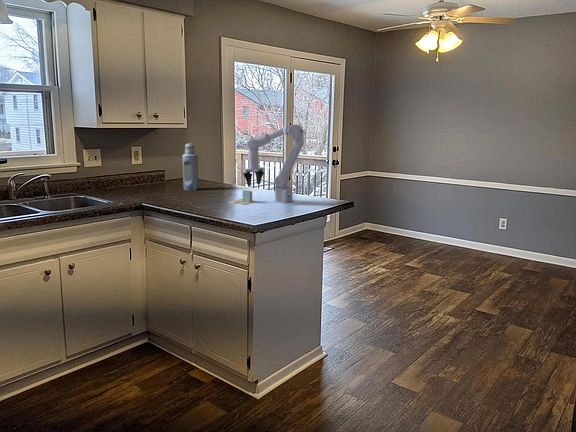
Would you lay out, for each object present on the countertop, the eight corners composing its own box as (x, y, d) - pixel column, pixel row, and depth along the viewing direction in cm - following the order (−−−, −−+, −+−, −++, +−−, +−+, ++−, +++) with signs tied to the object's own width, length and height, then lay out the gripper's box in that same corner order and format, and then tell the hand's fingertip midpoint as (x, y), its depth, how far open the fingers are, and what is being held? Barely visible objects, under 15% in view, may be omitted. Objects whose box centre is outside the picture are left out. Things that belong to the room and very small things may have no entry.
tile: (252, 201, 271) (252, 191, 270) (250, 202, 270) (250, 191, 269) (244, 200, 275) (244, 190, 274) (242, 201, 274) (242, 190, 273)
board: (260, 203, 272) (260, 201, 272) (244, 206, 263) (244, 204, 262) (243, 200, 281) (243, 198, 281) (226, 203, 271) (226, 201, 271)
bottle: (180, 190, 319) (178, 143, 313) (188, 188, 328) (186, 143, 322) (194, 190, 316) (192, 144, 310) (201, 188, 325) (199, 143, 319)
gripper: (257, 159, 282) (257, 182, 285) (239, 161, 272) (239, 185, 274) (266, 160, 278) (266, 183, 281) (248, 161, 267) (248, 186, 270)
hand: (253, 184), depth 277 cm, fingers open, 7 cm apart
